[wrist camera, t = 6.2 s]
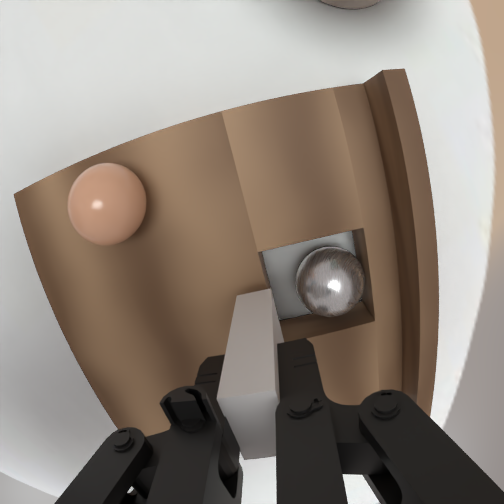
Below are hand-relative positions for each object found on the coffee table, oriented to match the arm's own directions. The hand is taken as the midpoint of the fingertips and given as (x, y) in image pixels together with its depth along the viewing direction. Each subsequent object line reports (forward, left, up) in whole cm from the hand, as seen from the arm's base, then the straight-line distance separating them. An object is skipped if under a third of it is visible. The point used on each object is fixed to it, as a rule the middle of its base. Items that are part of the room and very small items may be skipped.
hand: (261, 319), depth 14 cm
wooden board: (-2, 0, -4) cm, 5 cm away
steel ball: (+4, 0, -2) cm, 4 cm away
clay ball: (-5, +7, 0) cm, 8 cm away
